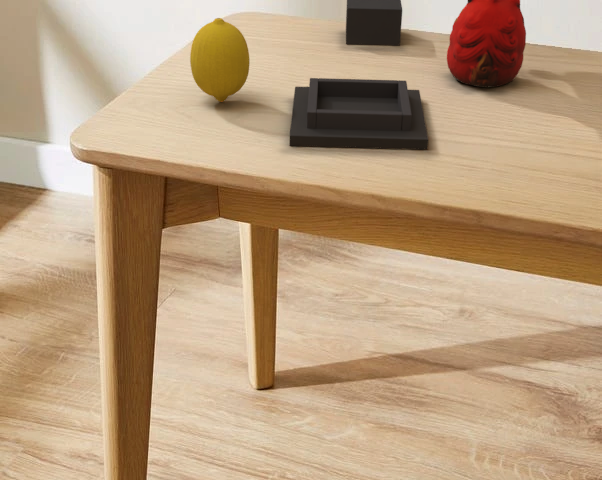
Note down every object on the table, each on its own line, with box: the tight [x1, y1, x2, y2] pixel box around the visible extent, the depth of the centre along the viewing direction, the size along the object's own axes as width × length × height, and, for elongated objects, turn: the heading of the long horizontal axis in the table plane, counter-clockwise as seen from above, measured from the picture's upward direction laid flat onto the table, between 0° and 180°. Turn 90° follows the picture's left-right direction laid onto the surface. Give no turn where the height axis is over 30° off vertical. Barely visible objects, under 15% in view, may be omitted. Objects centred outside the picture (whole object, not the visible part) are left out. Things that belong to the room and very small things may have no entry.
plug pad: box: [345, 0, 403, 46], centre depth 110 cm, size 6×6×4 cm
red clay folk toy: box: [446, 0, 527, 88], centre depth 95 cm, size 8×7×15 cm
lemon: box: [189, 17, 250, 103], centre depth 91 cm, size 6×6×8 cm
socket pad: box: [289, 77, 429, 151], centre depth 89 cm, size 12×12×2 cm
